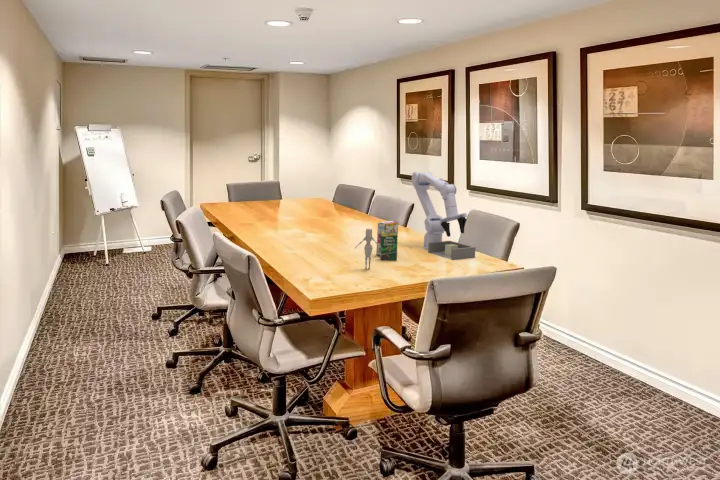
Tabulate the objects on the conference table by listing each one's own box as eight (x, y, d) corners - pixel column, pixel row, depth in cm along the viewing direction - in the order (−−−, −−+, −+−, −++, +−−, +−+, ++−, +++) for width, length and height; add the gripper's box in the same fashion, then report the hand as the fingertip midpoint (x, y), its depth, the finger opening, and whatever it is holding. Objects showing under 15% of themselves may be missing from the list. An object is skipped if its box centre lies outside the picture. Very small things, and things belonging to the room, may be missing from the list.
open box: (428, 253, 282) (428, 242, 281) (449, 251, 289) (450, 240, 288) (452, 261, 266) (453, 249, 265) (474, 258, 273) (475, 247, 272)
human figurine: (380, 268, 247) (382, 228, 244) (381, 270, 244) (383, 229, 240) (353, 268, 246) (354, 227, 243) (354, 270, 242) (355, 229, 239)
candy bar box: (384, 257, 270) (385, 223, 267) (375, 255, 273) (377, 222, 270) (397, 253, 279) (398, 221, 276) (389, 252, 282) (390, 220, 279)
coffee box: (379, 260, 263) (380, 232, 261) (379, 259, 266) (380, 231, 264) (396, 260, 263) (398, 233, 261) (396, 259, 266) (397, 232, 264)
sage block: (444, 254, 278) (445, 244, 277) (451, 253, 281) (452, 243, 280) (450, 256, 274) (451, 246, 274) (457, 255, 277) (458, 245, 276)
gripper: (434, 210, 277) (438, 237, 275) (459, 203, 269) (464, 231, 266) (441, 212, 283) (446, 238, 281) (467, 204, 274) (471, 231, 272)
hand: (455, 234), depth 274 cm, fingers open, 7 cm apart
